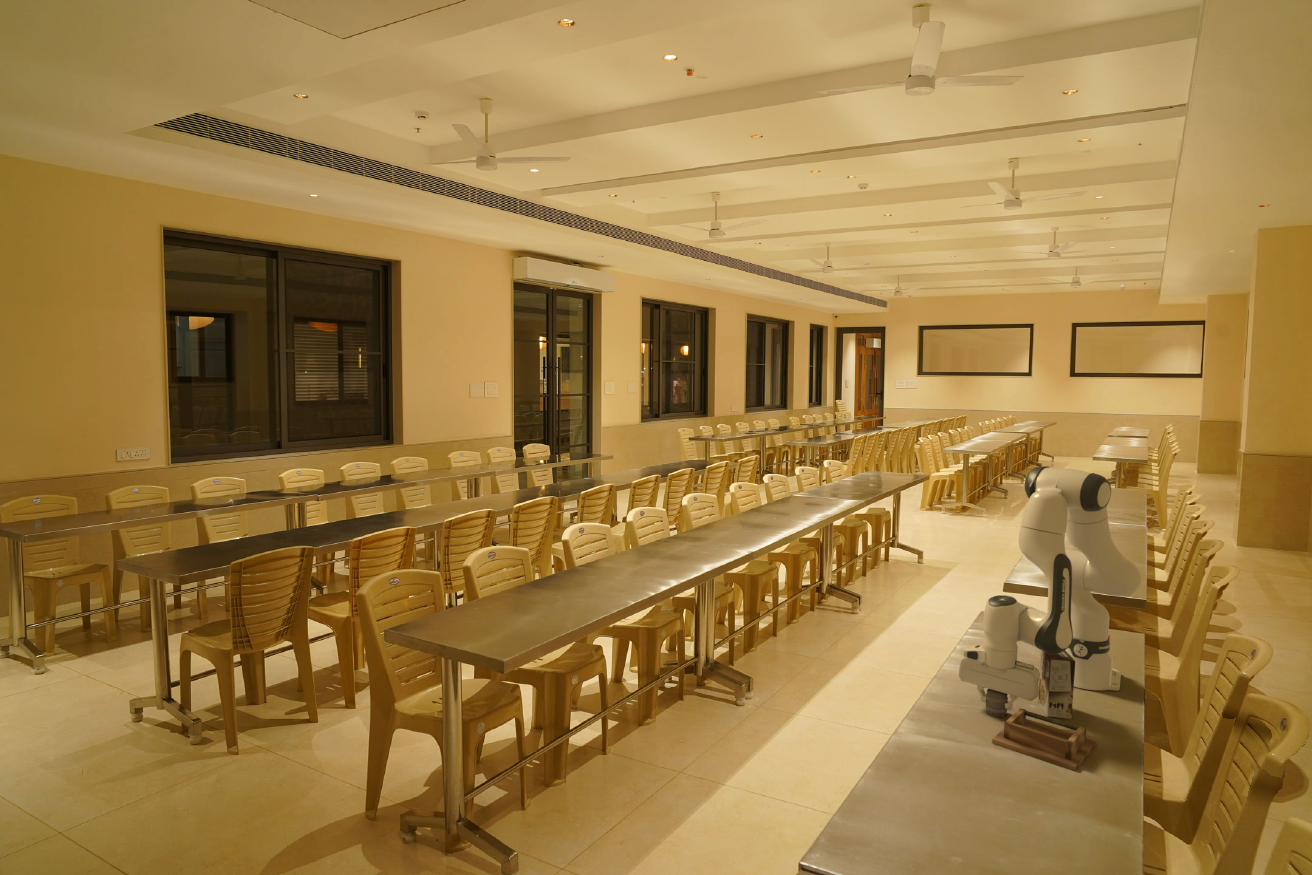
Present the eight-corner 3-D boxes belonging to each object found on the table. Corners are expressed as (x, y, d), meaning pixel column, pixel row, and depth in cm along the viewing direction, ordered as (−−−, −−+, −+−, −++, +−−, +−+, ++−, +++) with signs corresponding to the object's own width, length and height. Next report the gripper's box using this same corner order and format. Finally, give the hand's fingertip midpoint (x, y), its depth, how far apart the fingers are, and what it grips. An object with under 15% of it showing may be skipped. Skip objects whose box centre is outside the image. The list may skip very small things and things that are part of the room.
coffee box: (1072, 719, 206) (1076, 661, 205) (1046, 716, 207) (1050, 659, 206) (1062, 704, 215) (1065, 648, 214) (1037, 702, 216) (1040, 646, 215)
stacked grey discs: (989, 706, 213) (990, 685, 213) (1009, 712, 209) (1011, 691, 209) (982, 712, 209) (983, 691, 209) (1002, 719, 206) (1003, 697, 205)
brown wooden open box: (1017, 719, 206) (1018, 701, 205) (1096, 744, 193) (1097, 724, 192) (991, 742, 193) (993, 723, 192) (1075, 770, 180) (1076, 750, 179)
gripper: (1044, 663, 203) (1040, 713, 204) (966, 643, 217) (964, 690, 218) (1036, 670, 198) (1032, 721, 200) (957, 649, 213) (955, 697, 214)
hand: (996, 705), depth 209 cm, fingers closed on stacked grey discs, 5 cm apart
